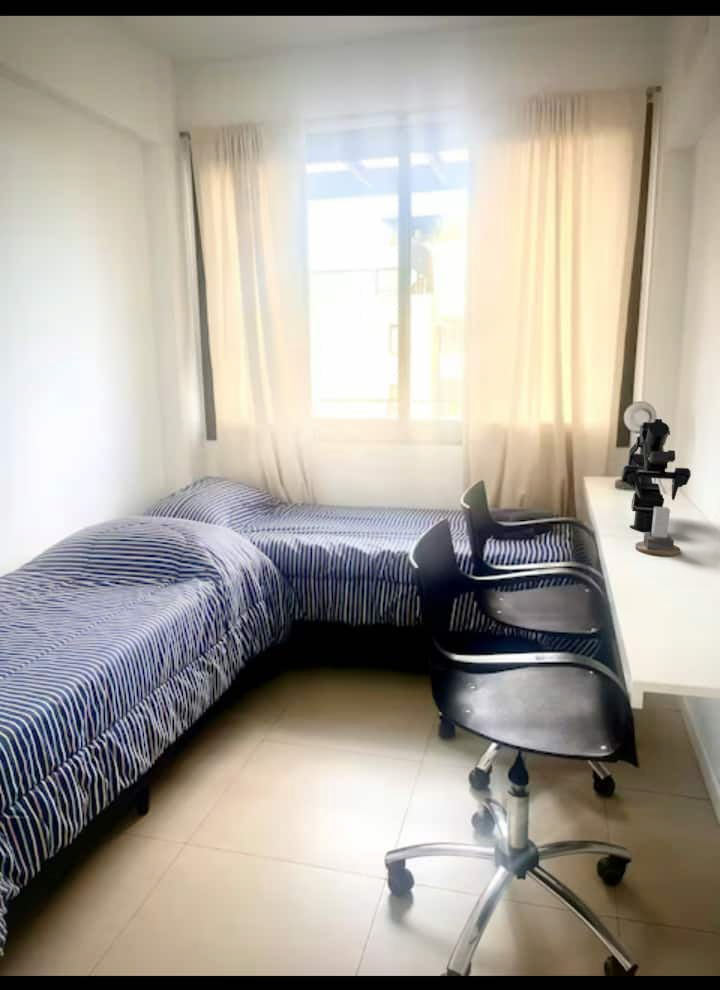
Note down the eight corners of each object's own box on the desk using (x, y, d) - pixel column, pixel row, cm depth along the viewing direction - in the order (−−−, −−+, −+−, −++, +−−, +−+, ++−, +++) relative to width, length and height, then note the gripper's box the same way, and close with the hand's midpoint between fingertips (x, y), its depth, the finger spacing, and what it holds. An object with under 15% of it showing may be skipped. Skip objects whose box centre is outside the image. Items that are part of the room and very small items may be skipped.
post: (649, 543, 202) (653, 506, 200) (663, 544, 201) (667, 507, 199) (652, 547, 198) (656, 509, 196) (666, 548, 198) (670, 510, 195)
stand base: (632, 542, 207) (633, 530, 206) (675, 545, 205) (676, 532, 204) (638, 554, 196) (640, 541, 195) (684, 557, 193) (685, 544, 192)
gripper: (626, 439, 208) (628, 481, 200) (693, 441, 204) (697, 485, 196) (620, 460, 217) (622, 502, 209) (684, 463, 213) (688, 505, 205)
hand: (657, 498), depth 205 cm, fingers open, 9 cm apart
